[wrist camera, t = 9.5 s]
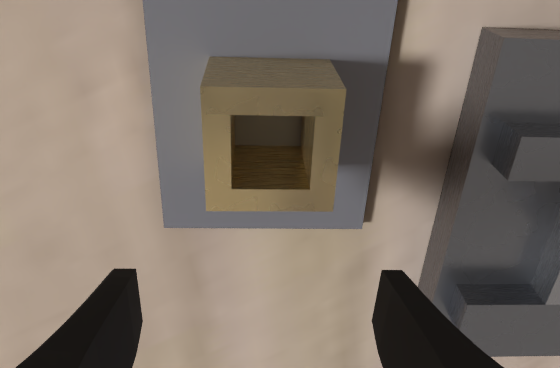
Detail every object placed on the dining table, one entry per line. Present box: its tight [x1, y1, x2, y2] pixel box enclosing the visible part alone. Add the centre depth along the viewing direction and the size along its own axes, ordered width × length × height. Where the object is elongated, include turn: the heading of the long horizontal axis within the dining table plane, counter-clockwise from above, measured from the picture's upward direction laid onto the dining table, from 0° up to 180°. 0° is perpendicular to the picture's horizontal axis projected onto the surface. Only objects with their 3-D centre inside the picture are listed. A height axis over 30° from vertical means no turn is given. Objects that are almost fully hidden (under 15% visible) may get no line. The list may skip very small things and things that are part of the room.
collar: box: [200, 57, 346, 212], centre depth 19 cm, size 5×5×4 cm
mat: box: [143, 0, 398, 229], centre depth 21 cm, size 12×10×1 cm
